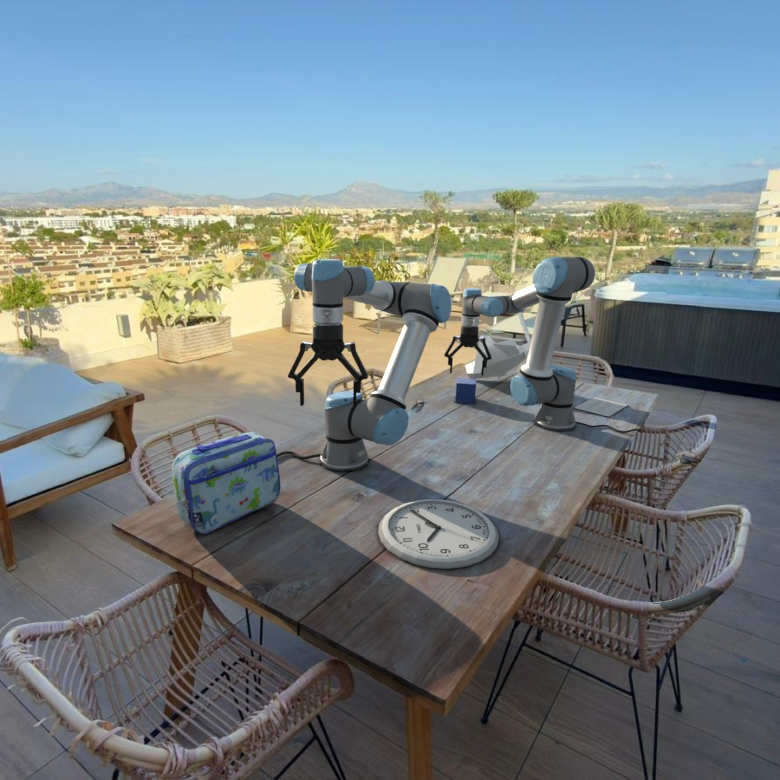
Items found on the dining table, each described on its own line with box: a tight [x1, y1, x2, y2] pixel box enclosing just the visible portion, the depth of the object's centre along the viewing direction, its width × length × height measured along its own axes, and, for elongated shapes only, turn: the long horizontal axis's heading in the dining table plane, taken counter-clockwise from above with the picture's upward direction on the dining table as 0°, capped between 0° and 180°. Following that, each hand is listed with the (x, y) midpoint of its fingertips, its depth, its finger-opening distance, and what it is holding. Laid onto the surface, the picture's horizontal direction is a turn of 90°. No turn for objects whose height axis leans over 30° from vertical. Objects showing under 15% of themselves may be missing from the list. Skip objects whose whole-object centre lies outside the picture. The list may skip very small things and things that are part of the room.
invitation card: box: [573, 396, 629, 418], centre depth 226 cm, size 21×1×15 cm
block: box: [454, 377, 477, 405], centre depth 230 cm, size 8×9×9 cm
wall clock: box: [377, 498, 500, 570], centre depth 131 cm, size 30×2×30 cm
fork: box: [411, 395, 426, 410], centre depth 224 cm, size 3×16×2 cm, turn 160°
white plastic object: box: [464, 312, 532, 380], centre depth 255 cm, size 37×45×31 cm
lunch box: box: [171, 431, 281, 535], centre depth 134 cm, size 26×11×21 cm, turn 134°
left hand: (328, 404), depth 136 cm, fingers open, 13 cm apart
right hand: (466, 373), depth 228 cm, fingers open, 13 cm apart
